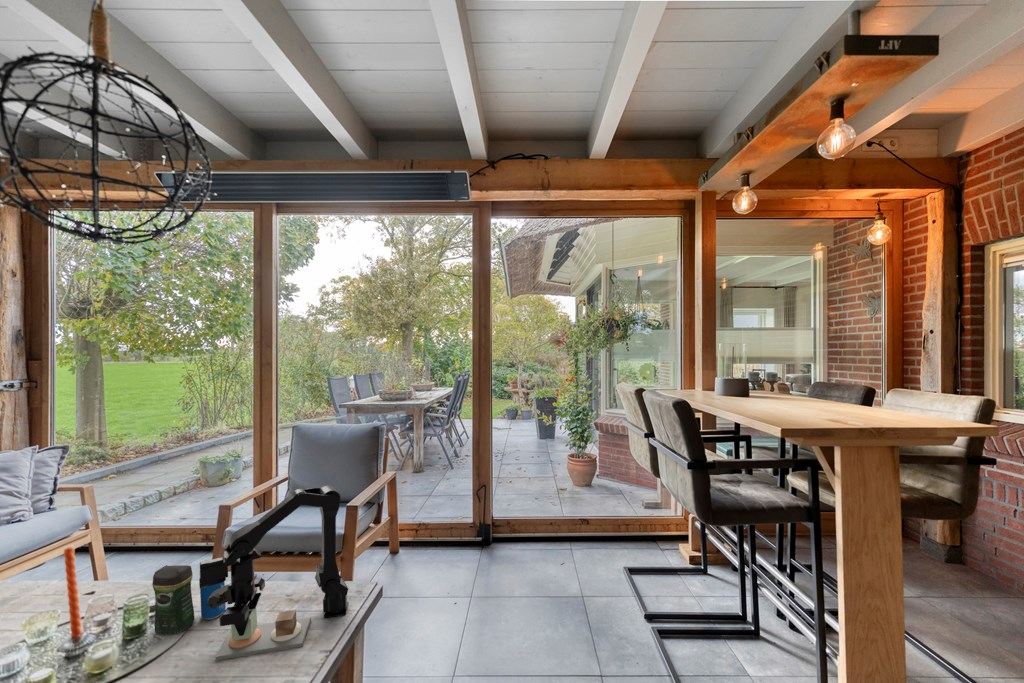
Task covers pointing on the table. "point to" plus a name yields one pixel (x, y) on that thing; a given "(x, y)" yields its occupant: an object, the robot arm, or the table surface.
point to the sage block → (249, 629)
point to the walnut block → (285, 623)
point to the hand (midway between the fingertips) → (244, 629)
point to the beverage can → (205, 594)
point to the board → (264, 640)
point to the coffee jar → (173, 599)
